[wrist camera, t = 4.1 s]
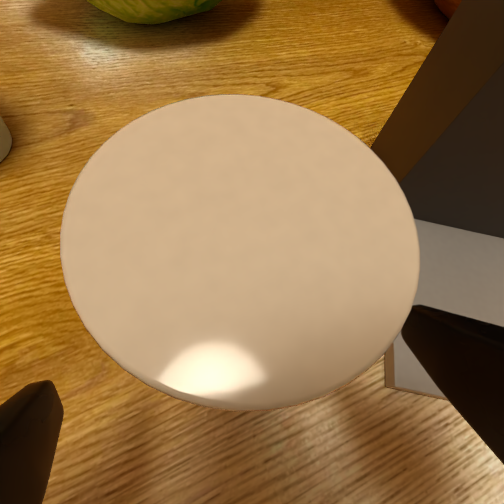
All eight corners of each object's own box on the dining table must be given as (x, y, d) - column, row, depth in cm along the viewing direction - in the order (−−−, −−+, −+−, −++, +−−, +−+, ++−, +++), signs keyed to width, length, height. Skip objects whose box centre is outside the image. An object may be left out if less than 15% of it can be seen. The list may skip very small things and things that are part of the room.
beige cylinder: (209, 421, 15) (174, 538, 3) (157, 326, 16) (4, 156, 5) (297, 355, 16) (492, 264, 5) (241, 276, 18) (285, 62, 6)
